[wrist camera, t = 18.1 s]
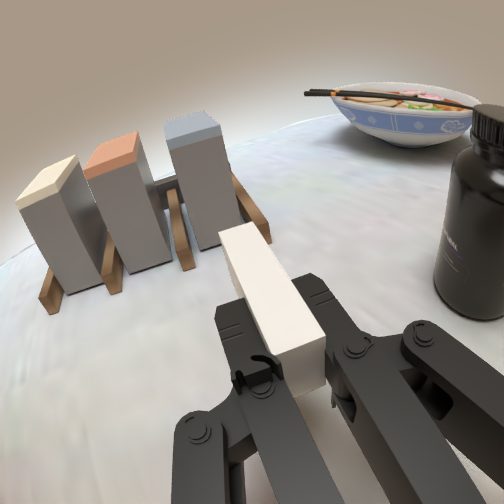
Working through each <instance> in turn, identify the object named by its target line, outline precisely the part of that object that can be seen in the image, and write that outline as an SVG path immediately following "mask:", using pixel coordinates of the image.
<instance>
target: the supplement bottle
mask: <svg viewBox="0 0 504 504" xmlns="http://www.w3.org/2000/svg"><path fill="white" fill-rule="evenodd" d="M470 139H471V141H472V142H473V145H472V146H469V147H467V148H465V149H463V150H462V151H461V152H460V153H459V154H458V155H457V156H456V158H455V159H454V161H453V164H452V169H451V176H450V184H449V192H448V199H447V206H446V212H445V218H444V224H443V229H442V235H441V240H440V245H439V250H438V254H437V260H436V264H435V269H434V280H435V284H436V287H437V290H438V292H439V294H440V295H441V297H442V298H443V299H444V301H445V302H446V303H447V304H448V305H449V306H450V307H452V308H453V309H454V310H456V311H457V312H459V313H461V314H463V315H465V316H468V317H471V318H474V319H481V320H488V319H494V318H498V317H500V316H502V315H504V107H502V106H497V105H490V104H477V105H475V106H473V112H472V128H471V129H470Z"/></svg>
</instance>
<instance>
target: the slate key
mask: <svg viewBox="0 0 504 504" xmlns="http://www.w3.org/2000/svg"><path fill="white" fill-rule="evenodd" d="M163 126H164V132H165V137H166V142H167V145H168V149H169V152H170V155H171V159H172V163H173V166H174V169H175V173H176V176H177V179H178V183H179V186H180V189H181V192H182V196H183V199H184V202H185V205H186V208H187V212H188V215H189V218H190V221H191V224H192V227H193V230H194V233H195V236H196V240H197V243H198V246H199V249H200V250H203V249H206V248H209V247H212V246H216V245H219V244H221V241H220V237H219V233H218V232H221V231H224V230H227V229H230V228H233V227H236V226H239V225H242V220H241V216H240V211H239V207H238V203H237V198H236V194H235V189H234V185H233V181H232V176H231V172H230V167H229V163H228V158H227V154H226V149H225V145H224V141H223V136H222V132H221V127H220V125H219V124H218V123H217V122H216V121H215V120H214V119H212V117H210V116H209V115H208V114H207V113H206V112H205V111H200V112H197V113H193V114H189V115H186V116H183V117H179V118H176V119H172V120H169V121H166V122H163Z"/></svg>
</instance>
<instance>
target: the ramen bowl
mask: <svg viewBox="0 0 504 504" xmlns="http://www.w3.org/2000/svg"><path fill="white" fill-rule="evenodd" d="M304 95H305V96H330V97H331V98H332V100H333V102H334V103H335V105H336V106H337V107H338V108H339V110H340V111H341V112H342V114H343V115H344V116H345V117H346V118H347V119H348V120H349V121H350V122H351V123H352V124H353V125H355V126H356V127H357V128H358V129H360V130H361V131H363V132H365V133H367V134H370V135H372V136H375V137H378V138H380V139H383V140H385V141H386V142H388V143H390V144H393V145H395V146H400V147H407V148H423V147H427V146H430V145H433V144H439V143H443V142H446V141H450V140H453V139H455V138H457V137H459V136H461V135H462V134H463V133H464V132H465V131H466V130H467V129H468V128H469V127H470V125H471V124H472V112H473V106H475V105H477V104H482V103H481V102H480V101H478V100H477V99H476V98H473V97H471V96H469V95H466V94H464V93H461V92H457V91H454V90H450V89H445V88H441V87H436V86H429V85H423V84H416V83H401V82H367V83H359V84H350V85H345V86H342V87H338V88H334V89H333V90H327V89H326V90H325V89H310V91H305V92H304Z"/></svg>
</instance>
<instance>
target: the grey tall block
mask: <svg viewBox="0 0 504 504" xmlns="http://www.w3.org/2000/svg"><path fill="white" fill-rule="evenodd" d="M15 203H16V205H17V207H18V209H19V211H20V213H21V215H22V217H23V219H24V221H25V223H26V225H27V227H28V229H29V231H30V233H31V235H32V236H33V239H34V240H35V242H36V244H37V246H38V248H39V250H40V251H41V253H42V255H43V257H44V258H45V260H46V262H47V263H48V265H49V267H50V269H51V270H52V272H53V274H54V275H55V277H56V278H57V280H58V282H59V283H60V285H61V286H62V288H63V290H64V291H65V293H66V294H67V295H68V294H71V293H74V292H77V291H80V290H83V289H86V288H89V287H92V286H94V285H97V284H100V283H103V280H102V278H101V271H102V264H103V258H104V252H105V247H106V241H107V236H108V230H107V228H106V226H105V223H104V221H103V219H102V217H101V214H100V212H99V210H98V208H97V205H96V203H95V200H94V198H93V196H92V193H91V191H90V188H89V186H88V183H87V181H86V178H85V176H84V173H83V171H82V168H81V166H80V163H79V160H78V158H77V155H74V156H71V157H69V158H66V159H64V160H62V161H60V162H57V163H55V164H53V165H51V166H49V167H47V168H45V169H43V170H42V171H41V172H40V173H39V174H38V175H37V176H36V177H35V178H34V180H33V181H32V182H31V183H30V184H29V185H28V187H27V188H26V189H25V190H24V191H23V192H22V194H21V195H20V196H19V197H18V198H17V200H16V201H15Z"/></svg>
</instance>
